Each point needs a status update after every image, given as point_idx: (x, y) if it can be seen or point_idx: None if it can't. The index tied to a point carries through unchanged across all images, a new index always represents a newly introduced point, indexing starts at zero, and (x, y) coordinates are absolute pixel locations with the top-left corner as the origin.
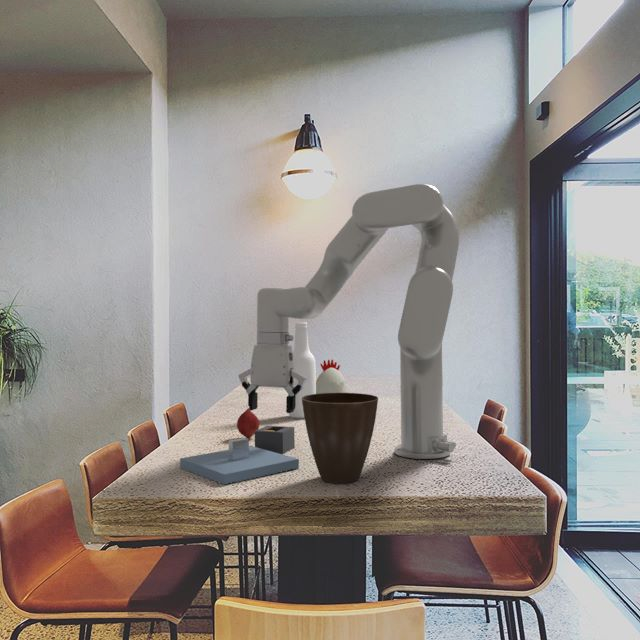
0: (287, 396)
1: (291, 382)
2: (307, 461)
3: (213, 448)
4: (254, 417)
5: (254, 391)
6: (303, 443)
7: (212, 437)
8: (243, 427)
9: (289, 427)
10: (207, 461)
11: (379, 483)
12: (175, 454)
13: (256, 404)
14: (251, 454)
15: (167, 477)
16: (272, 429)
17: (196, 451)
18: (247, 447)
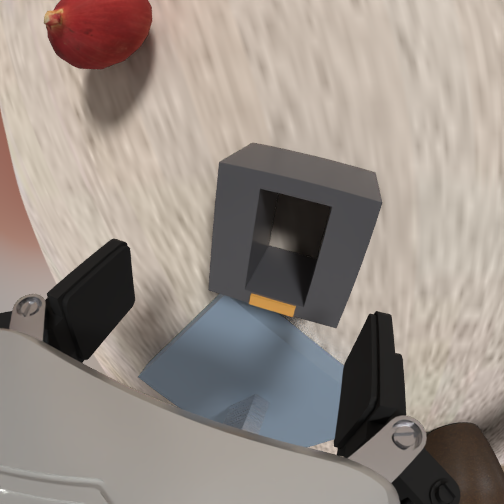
0: (339, 454)
1: (364, 490)
2: (417, 354)
3: (103, 199)
4: (103, 26)
5: (61, 341)
6: (401, 87)
7: (47, 56)
8: (100, 68)
9: (356, 216)
10: (197, 406)
11: (492, 444)
12: (73, 264)
13: (115, 268)
14: (266, 382)
15: (165, 402)
16: (262, 196)
17: (88, 236)
18: (260, 423)
